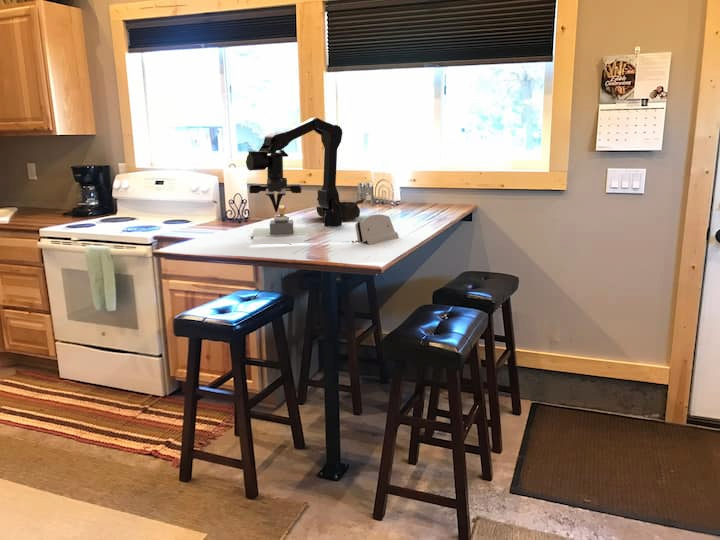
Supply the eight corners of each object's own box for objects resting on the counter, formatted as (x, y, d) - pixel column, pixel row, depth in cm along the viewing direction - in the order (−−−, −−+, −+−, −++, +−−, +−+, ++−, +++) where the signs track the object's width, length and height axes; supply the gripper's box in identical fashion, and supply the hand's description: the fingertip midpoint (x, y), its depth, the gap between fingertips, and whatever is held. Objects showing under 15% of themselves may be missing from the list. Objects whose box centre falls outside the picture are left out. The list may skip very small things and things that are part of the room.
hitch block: (316, 229, 235) (315, 208, 233) (317, 236, 218) (316, 215, 216) (254, 231, 232) (253, 210, 230) (251, 239, 216) (249, 217, 214)
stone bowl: (367, 222, 249) (365, 199, 247) (307, 227, 250) (305, 205, 248) (367, 212, 273) (365, 192, 271) (313, 217, 274) (311, 197, 272)
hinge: (368, 244, 202) (360, 216, 203) (359, 247, 206) (351, 219, 206) (399, 237, 214) (392, 210, 214) (390, 240, 218) (382, 214, 218)
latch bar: (278, 209, 231) (278, 204, 231) (285, 209, 231) (285, 204, 231) (278, 214, 219) (278, 208, 219) (285, 213, 220) (285, 208, 219)
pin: (289, 230, 226) (288, 213, 224) (289, 233, 221) (288, 215, 219) (275, 231, 225) (274, 214, 224) (274, 233, 220) (273, 216, 219)
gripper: (247, 171, 209) (248, 215, 213) (300, 171, 211) (301, 215, 214) (250, 168, 220) (251, 211, 223) (300, 168, 221) (301, 210, 225)
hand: (276, 212), depth 221 cm, fingers closed
